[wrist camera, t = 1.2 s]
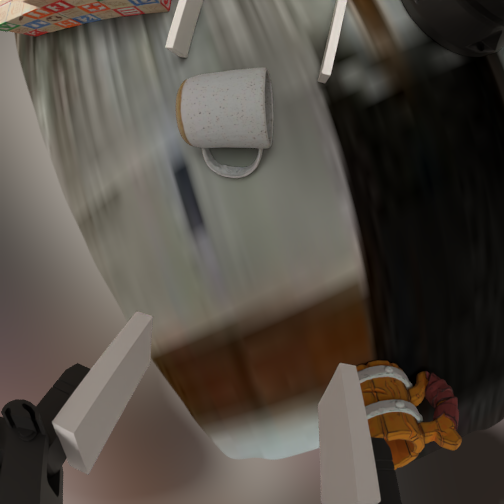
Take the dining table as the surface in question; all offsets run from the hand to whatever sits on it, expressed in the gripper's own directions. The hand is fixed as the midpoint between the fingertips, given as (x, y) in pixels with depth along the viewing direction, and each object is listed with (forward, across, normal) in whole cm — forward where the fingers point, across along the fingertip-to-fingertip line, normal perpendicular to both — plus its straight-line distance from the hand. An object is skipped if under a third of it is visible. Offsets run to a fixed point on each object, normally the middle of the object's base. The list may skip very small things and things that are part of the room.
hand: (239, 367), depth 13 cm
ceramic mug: (+24, -6, +9) cm, 26 cm away
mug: (+24, +22, -18) cm, 37 cm away
